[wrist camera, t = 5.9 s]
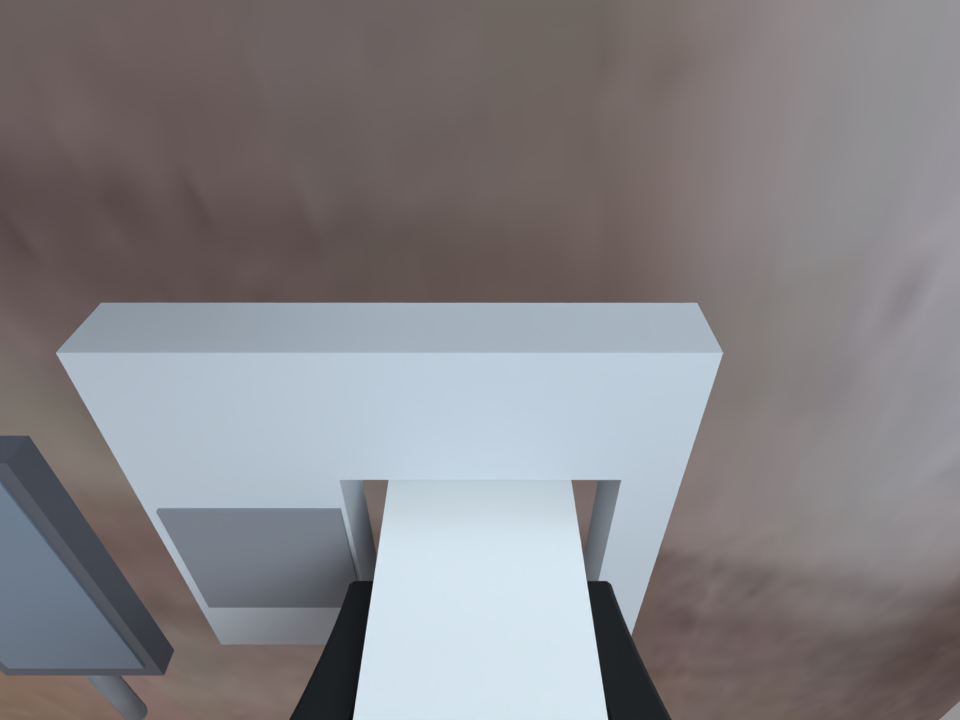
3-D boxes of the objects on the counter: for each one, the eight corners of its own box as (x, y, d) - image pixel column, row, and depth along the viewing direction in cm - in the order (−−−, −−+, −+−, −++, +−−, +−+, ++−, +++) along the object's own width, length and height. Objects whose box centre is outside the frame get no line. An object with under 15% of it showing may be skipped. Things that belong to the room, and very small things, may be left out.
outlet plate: (238, 593, 17) (220, 648, 16) (101, 302, 11) (52, 356, 10) (618, 593, 17) (628, 648, 16) (697, 303, 11) (724, 356, 10)
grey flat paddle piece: (78, 705, 22) (65, 730, 21) (-197, 435, 13) (-233, 465, 12) (212, 705, 22) (203, 730, 21) (28, 435, 13) (4, 465, 12)
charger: (404, 574, 16) (368, 914, 10) (389, 476, 13) (332, 860, 8) (556, 573, 16) (594, 913, 10) (570, 475, 13) (629, 859, 8)
